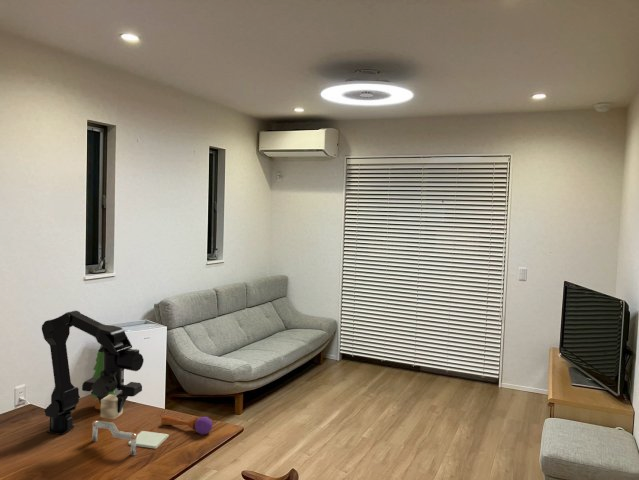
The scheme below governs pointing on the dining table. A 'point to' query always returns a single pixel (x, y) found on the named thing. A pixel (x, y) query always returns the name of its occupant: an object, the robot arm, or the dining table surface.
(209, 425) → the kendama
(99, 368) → the decorative tree
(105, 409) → the birch block
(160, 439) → the sage pad
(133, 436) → the steel handle
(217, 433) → the dining table surface
